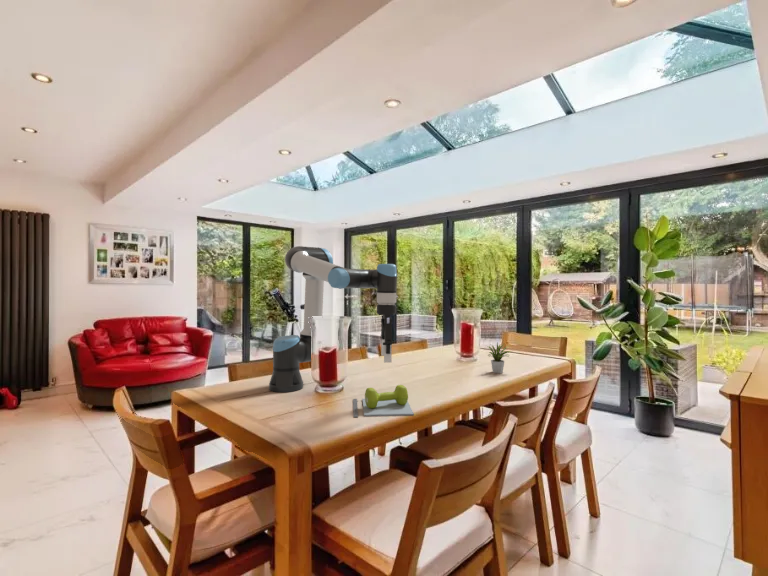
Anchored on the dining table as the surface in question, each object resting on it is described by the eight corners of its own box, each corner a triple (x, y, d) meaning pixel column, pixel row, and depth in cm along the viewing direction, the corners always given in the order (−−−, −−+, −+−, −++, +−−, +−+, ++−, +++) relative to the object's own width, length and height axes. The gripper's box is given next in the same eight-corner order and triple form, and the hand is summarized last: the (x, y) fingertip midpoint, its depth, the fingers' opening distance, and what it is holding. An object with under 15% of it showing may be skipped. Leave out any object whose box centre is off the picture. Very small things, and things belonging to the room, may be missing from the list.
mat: (364, 416, 142) (364, 414, 142) (362, 400, 162) (362, 398, 162) (413, 415, 144) (413, 413, 144) (405, 399, 163) (405, 397, 163)
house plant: (494, 376, 205) (494, 345, 205) (477, 370, 218) (478, 341, 217) (515, 374, 211) (516, 343, 210) (498, 368, 223) (498, 340, 223)
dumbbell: (369, 411, 146) (369, 391, 146) (362, 404, 154) (363, 386, 154) (410, 406, 152) (410, 387, 152) (402, 400, 159) (402, 382, 159)
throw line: (353, 417, 141) (353, 416, 141) (353, 399, 163) (353, 398, 163) (358, 417, 141) (358, 416, 141) (357, 399, 163) (357, 398, 163)
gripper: (400, 305, 141) (399, 365, 141) (392, 302, 165) (392, 352, 166) (379, 305, 140) (378, 365, 140) (374, 302, 165) (374, 353, 165)
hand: (386, 358), depth 153 cm, fingers open, 13 cm apart
